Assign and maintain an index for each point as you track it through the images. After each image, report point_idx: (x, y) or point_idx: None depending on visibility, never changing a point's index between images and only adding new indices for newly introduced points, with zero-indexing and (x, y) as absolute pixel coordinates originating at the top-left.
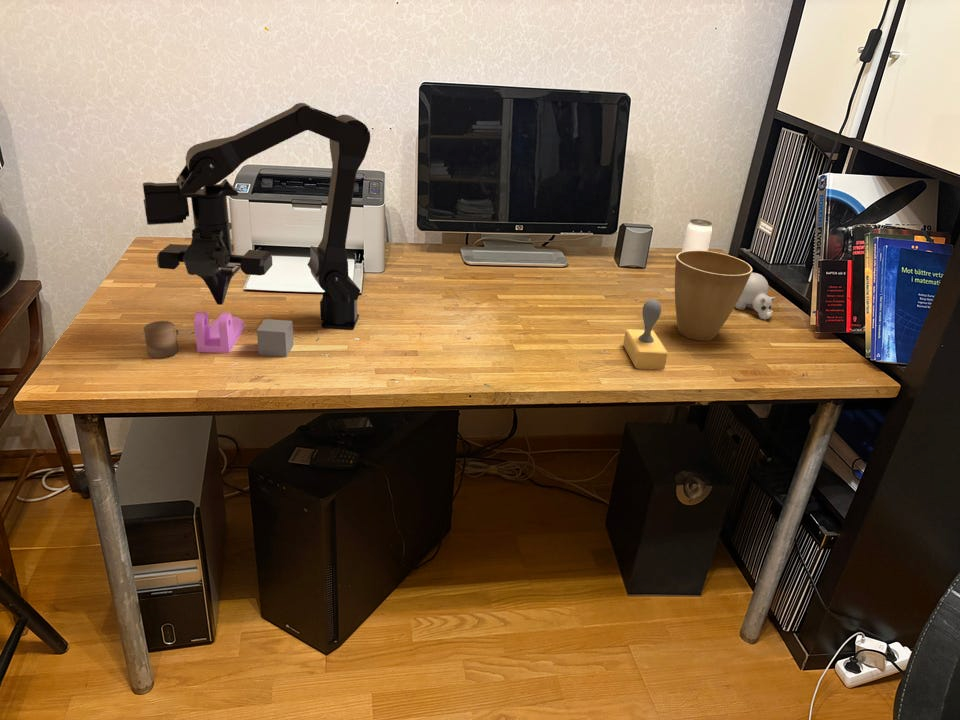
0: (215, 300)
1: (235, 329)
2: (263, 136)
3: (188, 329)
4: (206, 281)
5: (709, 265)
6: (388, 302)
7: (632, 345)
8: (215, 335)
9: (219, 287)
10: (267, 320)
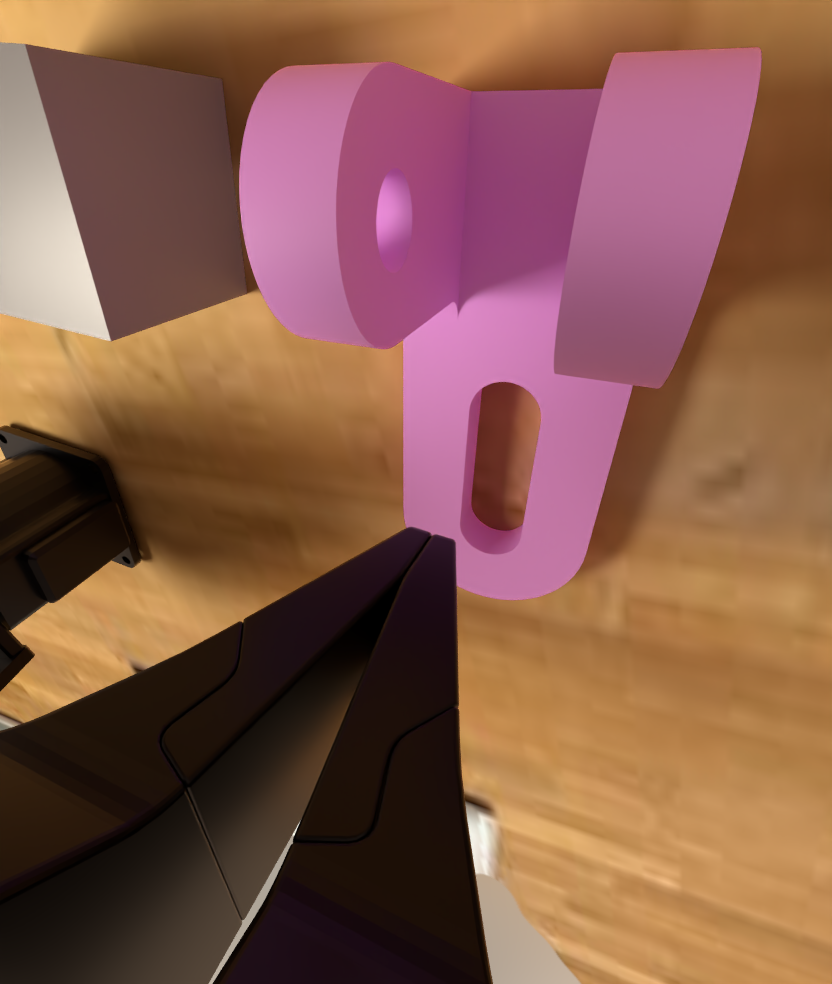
0: (450, 565)
1: (424, 429)
2: None
3: (770, 534)
4: (426, 871)
5: None
6: (45, 604)
7: None
8: (546, 337)
9: (267, 669)
10: (80, 309)
